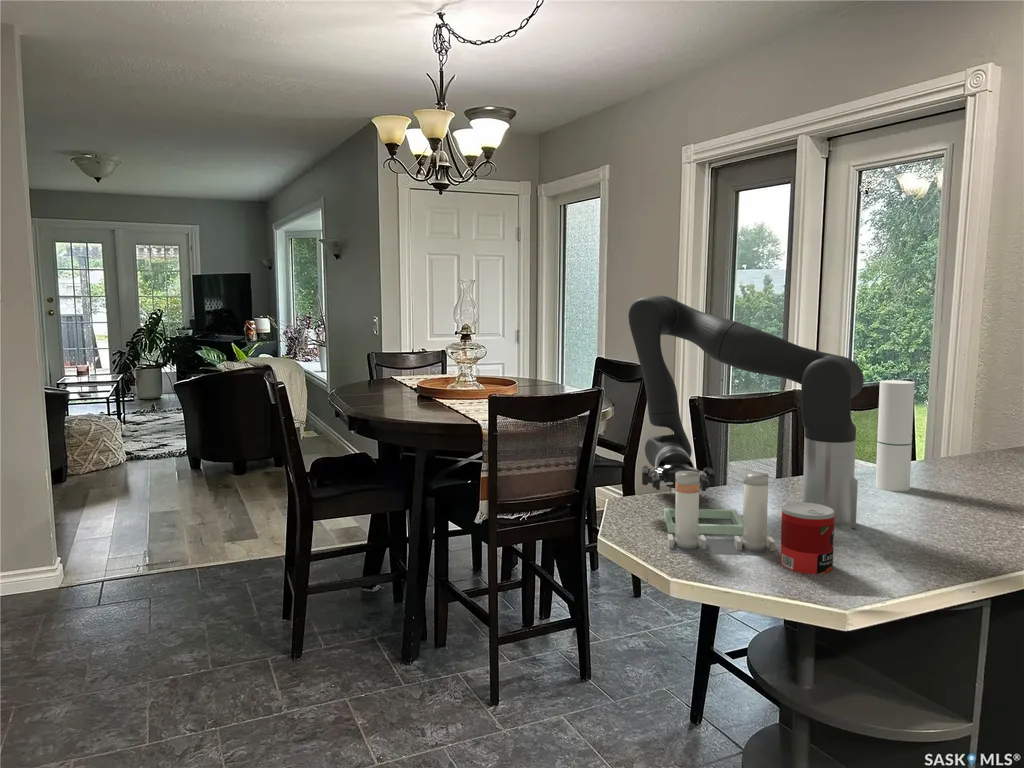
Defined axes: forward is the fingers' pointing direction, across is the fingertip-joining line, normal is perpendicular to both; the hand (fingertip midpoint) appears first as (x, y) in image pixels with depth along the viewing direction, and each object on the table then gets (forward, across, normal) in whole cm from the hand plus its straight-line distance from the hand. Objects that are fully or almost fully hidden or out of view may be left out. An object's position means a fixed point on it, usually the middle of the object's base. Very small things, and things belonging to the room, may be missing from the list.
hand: (681, 485), depth 139 cm
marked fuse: (+11, 0, +8) cm, 13 cm away
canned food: (+19, +18, +10) cm, 28 cm away
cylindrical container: (-39, +52, +10) cm, 66 cm away
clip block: (+11, +6, +10) cm, 16 cm away
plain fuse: (+11, +12, +8) cm, 18 cm away
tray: (-2, +4, +10) cm, 11 cm away
